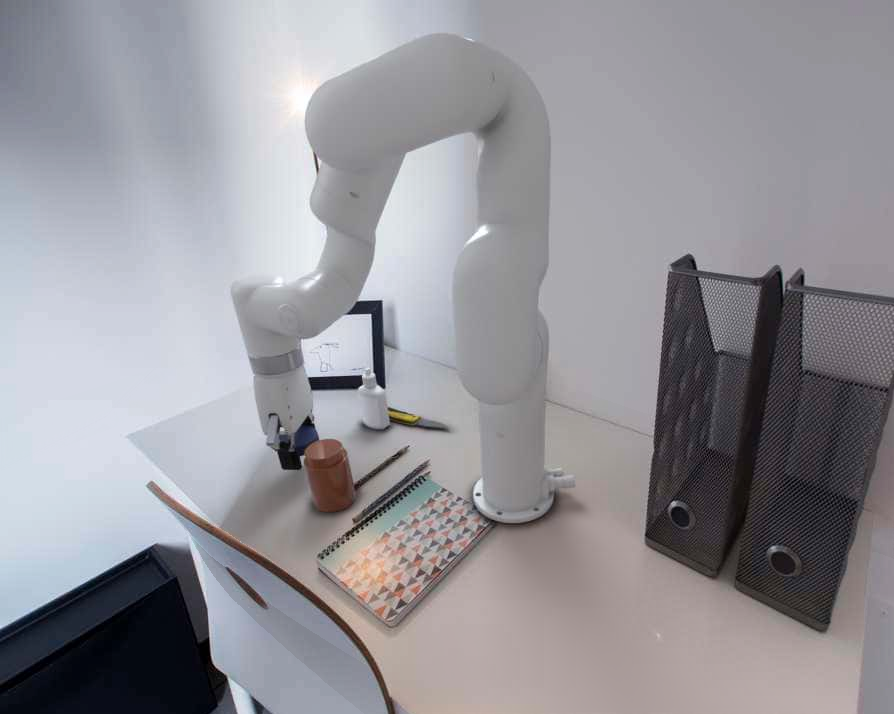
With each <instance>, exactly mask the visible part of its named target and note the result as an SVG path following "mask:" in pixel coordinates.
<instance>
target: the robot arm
mask: <svg viewBox="0 0 894 714" xmlns="http://www.w3.org/2000/svg"><path fill="white" fill-rule="evenodd" d="M549 120H550V119H549V115H548V112H547V108H546V105H545V102H544V100H543V97H542V95H541V93H540V91H539V89H538V88H537V86H536V84H535V83H534V81H533V79H532V78H531V76H529V74H528V73H527V72H526V71H525V70H524V69H523V68H522V67H520V65H519V64H517V63H516V62H515V61H514V60H512V59H510V58H509V56H506V55H505V54H504V53H502V52H500V51H498V50H497V49H495V48H494V47H491V46H489V45H487V44H485V43H482V42H480V41H478V40H474V39H471V38H467V37H464V36H462V35H459V34H456V33H451V32H449V33H448V32H435V33H429V34H426V35H422V36H419V37H416V38H414V39H413V40H410V41H407V42H405V43H403V44H401V45H399V46H397V47H395V48H393V49H391V50H389V51H387V52H385V53H383V54H381V55H378V56H377V57H375V58H372V59H370V60H368V61H365V62H364V63H361V64H359V65H356V66H354V67H353V68H350V69H347V70H346V71H343V72H342V73H339V74H337V75H335V76H333V77H331V78H329V79H328V80H326V81H324V82H323V83H322V84H321V85H319V86H318V87H317V88H316V89H315V91H314V92H313V93H312V95H311V96H310V99H309V100H308V102H307V106H306V109H305V113H304V131H305V135H306V140H307V141H308V144H309V146H310V148H311V150H312V152H313V153H314V155H315V156H316V157H317V158H318V159H319V160H320V161H321V162H320V165H319V168H318V172H317V174H316V178H315V181H314V184H313V187H312V190H311V193H310V195H309V196H310V197H309V203H308V204H309V209H310V210H311V213H312V215H314V217H315V218H316V219H317V220H318V221H319V222H320V223H322V224H323V225H324V226H326V230H327V231H326V239H325V243H324V247H323V249H322V253H321V255H320V258H319V260H318V263H317V265H316V267H315V269H314V270H313V271H311V272H309V273H308V274H305V275H304V276H302V277H300V278H298V279H297V280H294V281H292V282H289V283H287V282H286V281H285V279H283V277H281V276H280V275H277V274H271V273H258V274H252V275H251V274H250V275H247V276H244V277H240V278H239V279H237V280H235V281H233V283H232V285H231V286H230V296H231V300H232V304H233V307H234V312H235V315H236V318H237V322H238V326H239V329H240V334H241V336H242V340H243V343H244V348H245V351H246V354H247V357H248V361H249V366H250V368H251V372H252V374H253V381H252V382H253V393H254V400H255V406H256V410H257V415H258V420H259V424H260V428H261V431H262V433H263V435H265V436H266V441H265V444H266V446H267V447H269V448H271V450H274V452H275V453H277V457H278V460H279V463H280V468H281V470H283V471H301V470H302V469H303V463H302V460H301V456H300V455H299V451H298V448H295V439H294V433H295V432H296V431H297V430H298V428H299V427H300V426H311V427H313V428H315V429H316V424H315V415H314V414H313V409H314V398H313V397H314V396H313V391H312V388H311V384H310V380H309V377H308V373H307V371H306V368H305V358H304V353H303V350H302V349H303V348H302V345H301V341H300V340H309V339H313V338H315V337H317V336H319V335H321V334H322V333H324V332H325V331H326V330H327V329H328V328H330V327H331V326H332V325H333V324H334V323H336V322H337V321H339V320H340V319H341V318H343V317H344V316H345V315H347V314H348V313H349V312H351V310H352V309H353V308H354V306H355V305H356V303H357V302H358V300H359V298H360V296H361V294H362V292H363V289H364V286H365V284H366V282H367V279H368V277H369V274H370V272H371V268H372V266H373V263H374V259H375V254H376V245H377V235H376V231H377V228H378V225H379V222H380V220H381V218H382V215H383V212H384V209H385V207H386V204H387V202H388V199H389V197H390V195H391V193H392V189H393V187H394V184H395V182H396V180H397V178H398V175H399V173H400V170H401V167H402V165H403V163H404V160H405V158H406V155H407V154H408V153H410V152H413V151H416V150H418V149H421V148H424V147H426V146H428V145H431V144H432V145H433V144H435V143H437V142H439V141H442V140H445V139H448V138H452V137H455V136H458V135H463V134H467V133H472V134H473V135H474V137H475V140H476V144H477V162H476V172H475V190H476V224H475V232H474V234H473V236H471V237H470V238H469V239H468V240H467V241H466V242H465V243H464V245H463V246H462V247H461V249H460V251H459V253H458V254H457V256H456V260H455V264H454V268H453V273H452V283H451V284H452V285H451V286H452V289H451V290H452V314H453V315H452V317H453V341H454V342H453V345H454V359H455V360H454V362H455V368H456V373H457V376H458V378H459V381H460V382H461V384H462V386H463V388H464V389H465V390H466V392H467V393H468V394H469V395H470V396H472V397H473V398H474V399H475V400H477V405H478V425H479V428H478V429H479V444H480V462H481V463H480V464H481V477H480V478H479V479H478V480H477V482H476V484H474V487H473V491H472V499H473V502H474V506H475V507H476V509H477V511H479V512H480V513H481V514H482V515H483V516H485V517H487V518H488V519H491V520H494V521H496V522H500V523H505V524H521V523H527V522H530V521H533V520H536V519H538V518H540V517H542V516H543V515H545V514H546V513H547V512H548V511H549V510H550V509H551V507H552V505H553V503H554V500H555V499H554V498H555V492H556V490H557V489H558V490H559V489H571V488H572V489H573V488H576V479H575V476H574V475H573V474H568V475H564V469H563V467H557V468H552V469H548V467H545V453H546V451H545V450H546V449H545V448H546V447H545V446H546V413H547V412H546V409H547V407H546V406H547V403H546V402H547V380H548V379H547V377H548V364H549V350H550V333H549V327H548V324H547V321H546V318H545V316H544V314H543V312H542V311H541V310H540V309H539V295H540V288H541V285H542V284H543V282H544V280H545V277H546V276H547V273H548V268H549V264H550V263H549V262H550V250H549V249H550V248H549V245H550V244H549V242H550V241H549V240H550V239H549V234H550V233H549V232H550V212H551V211H550V209H551V208H550V207H551V161H552V160H551V159H552V158H551V157H552V155H551V154H552V144H551V143H552V142H551V141H552V139H551V128H550V121H549ZM281 428H283V430H281ZM284 430H287V431H284ZM316 430H317V429H316ZM281 436H288V443H286V442H284V441H281Z"/></svg>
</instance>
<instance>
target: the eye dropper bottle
mask: <svg viewBox="0 0 894 714" xmlns="http://www.w3.org/2000/svg"><path fill="white" fill-rule="evenodd" d="M364 371H365V372H364V373H363V374H362V376H361V380H362V385H361V386H359V387H358V388H357V396H358V403H359V408H360V413H361V419H362V422H363V424H364V425H365V426H367V427H368V428H371V429H374V430H384V429H386V428H388V427H389V426H390V424H391V421H390V419H389V414H388V407H389V406H388V402H387V396H386V392H385V390H384V388H382V387H381V386H380V385H379V384H378V383H377V377H376V373H374V372H371V368H369V367H366V368H365V369H364Z"/></svg>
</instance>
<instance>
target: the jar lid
mask: <svg viewBox="0 0 894 714" xmlns="http://www.w3.org/2000/svg"><path fill="white" fill-rule="evenodd" d="M315 428H316V427H315ZM315 428H313V427H311V426H300V427H299V428H298V430H297V431H296V432H295V433H294V439H295V448H298V451H299V455H300V457H303V456H304V457H305V455H304V452H305V450H306V448H307V447H308V446H309V445H311V444H312V443H314V442H316V441H319V440H320V435H319V433H318V431H317V429H315ZM283 431H287V430H285V429H283ZM281 441H284V442H286V443H288V436H281Z"/></svg>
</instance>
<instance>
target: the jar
mask: <svg viewBox="0 0 894 714" xmlns="http://www.w3.org/2000/svg"><path fill="white" fill-rule="evenodd" d="M303 466H304V469H305V474H306V477H307V481H308V486H309V489H310V494H311V497H312V501H313V504H314V507H315V509H317V510H318V511H320V512H325V513H335V512H340V511H342V510H344V509H346V508H348V507H349V506H350V505H352V504H353V502H355V499H356V497H357V493H356V489H355V483H354V479H353V475H352V468H351V465H350V459H349V455H348V451H347V450H346V448H344V445H343V443H342V442H341V441H340V440H338V439H334V438H324V439H319V441H316V442H314V443H312V444H311V445H309V446H308V447H307V448H306V450H305V452H304V459H303Z"/></svg>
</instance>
